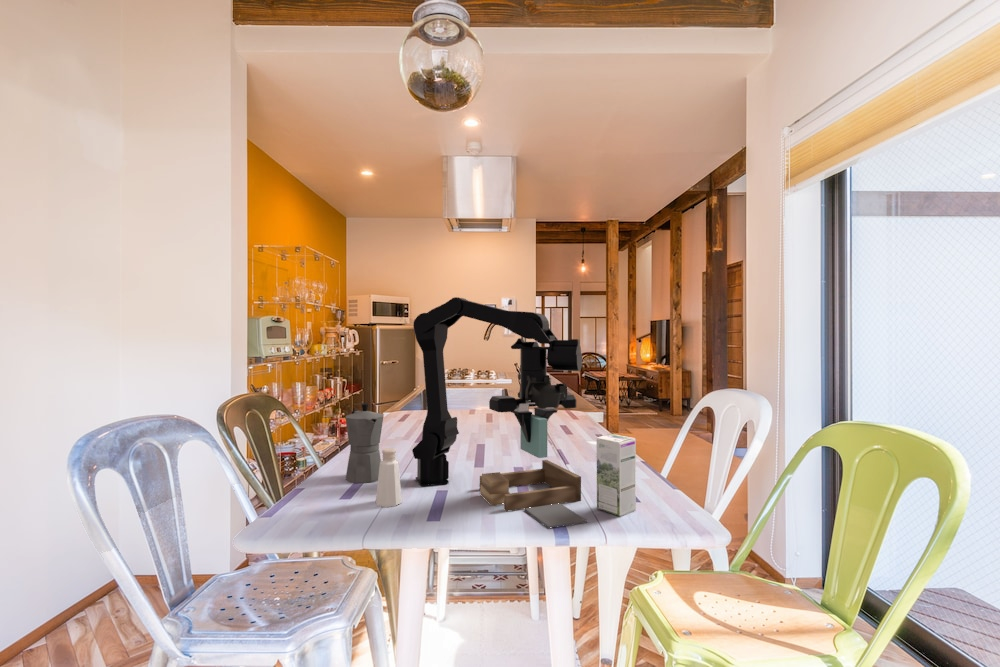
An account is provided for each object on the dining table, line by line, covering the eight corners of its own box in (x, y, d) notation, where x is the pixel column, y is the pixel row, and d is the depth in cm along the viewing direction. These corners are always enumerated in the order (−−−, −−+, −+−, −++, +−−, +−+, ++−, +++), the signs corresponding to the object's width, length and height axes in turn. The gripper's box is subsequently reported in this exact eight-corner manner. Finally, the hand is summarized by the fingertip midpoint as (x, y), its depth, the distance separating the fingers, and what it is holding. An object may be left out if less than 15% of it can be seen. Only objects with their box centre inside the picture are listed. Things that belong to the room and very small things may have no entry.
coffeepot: (393, 481, 118) (394, 405, 118) (354, 488, 112) (354, 408, 112) (370, 467, 130) (370, 398, 130) (334, 472, 125) (334, 400, 125)
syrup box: (637, 510, 99) (637, 437, 99) (619, 517, 95) (619, 441, 95) (613, 502, 103) (613, 432, 103) (595, 509, 99) (595, 436, 99)
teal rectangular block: (538, 458, 104) (538, 419, 104) (520, 448, 112) (520, 413, 112) (547, 457, 105) (547, 419, 105) (528, 448, 113) (528, 412, 113)
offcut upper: (490, 494, 101) (490, 482, 101) (481, 485, 107) (481, 473, 107) (508, 492, 103) (508, 480, 103) (499, 483, 109) (499, 472, 109)
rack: (506, 511, 98) (506, 485, 98) (479, 489, 112) (479, 466, 112) (581, 500, 104) (581, 476, 104) (546, 480, 118) (546, 459, 118)
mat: (548, 528, 89) (548, 526, 89) (524, 510, 98) (524, 508, 98) (587, 522, 92) (587, 520, 92) (560, 505, 101) (560, 503, 101)
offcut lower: (491, 507, 101) (491, 494, 101) (480, 496, 108) (480, 485, 108) (509, 504, 103) (509, 492, 103) (497, 494, 109) (497, 483, 109)
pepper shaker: (393, 496, 106) (393, 445, 106) (407, 503, 102) (407, 449, 102) (370, 502, 102) (370, 449, 102) (384, 509, 99) (384, 453, 99)
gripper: (509, 374, 98) (509, 453, 97) (590, 371, 105) (590, 445, 105) (488, 370, 108) (488, 442, 108) (563, 368, 115) (563, 435, 115)
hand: (533, 441), depth 108 cm, fingers closed on teal rectangular block, 2 cm apart
